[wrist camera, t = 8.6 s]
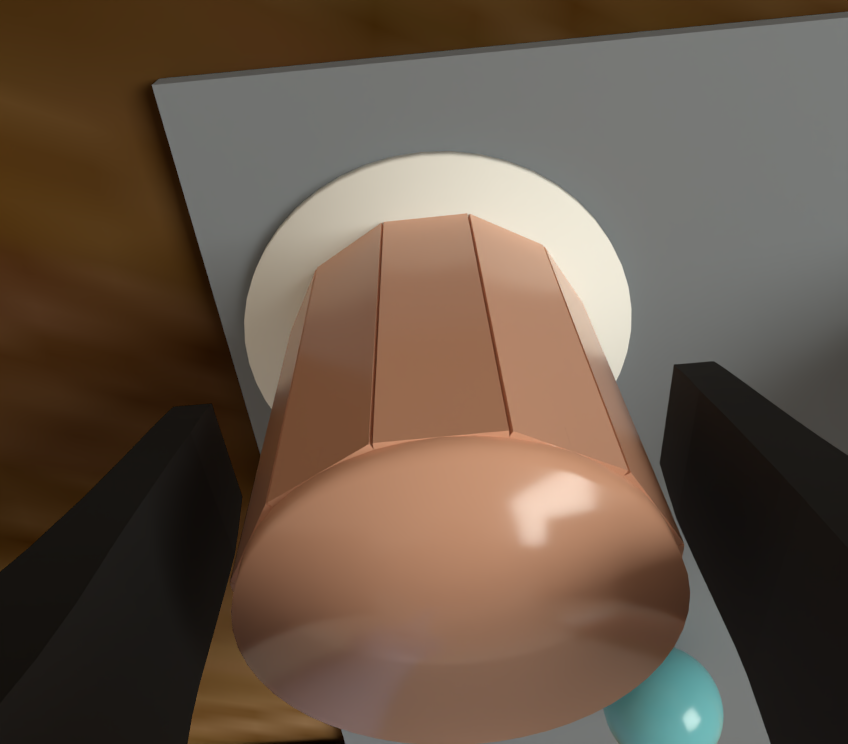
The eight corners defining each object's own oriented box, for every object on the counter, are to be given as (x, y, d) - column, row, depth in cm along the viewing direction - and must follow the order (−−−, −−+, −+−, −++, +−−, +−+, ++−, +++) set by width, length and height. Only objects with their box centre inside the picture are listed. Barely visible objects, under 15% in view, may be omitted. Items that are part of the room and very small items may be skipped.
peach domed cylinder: (578, 445, 15) (665, 729, 10) (323, 468, 15) (285, 758, 10) (587, 200, 12) (721, 437, 7) (265, 233, 12) (170, 488, 7)
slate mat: (960, 724, 23) (974, 745, 23) (356, 766, 24) (355, 788, 23) (1483, -50, 11) (1545, -46, 10) (159, 79, 11) (145, 90, 11)
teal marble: (692, 679, 21) (731, 789, 18) (588, 686, 21) (614, 797, 18) (707, 616, 19) (753, 727, 16) (594, 625, 19) (622, 736, 16)
